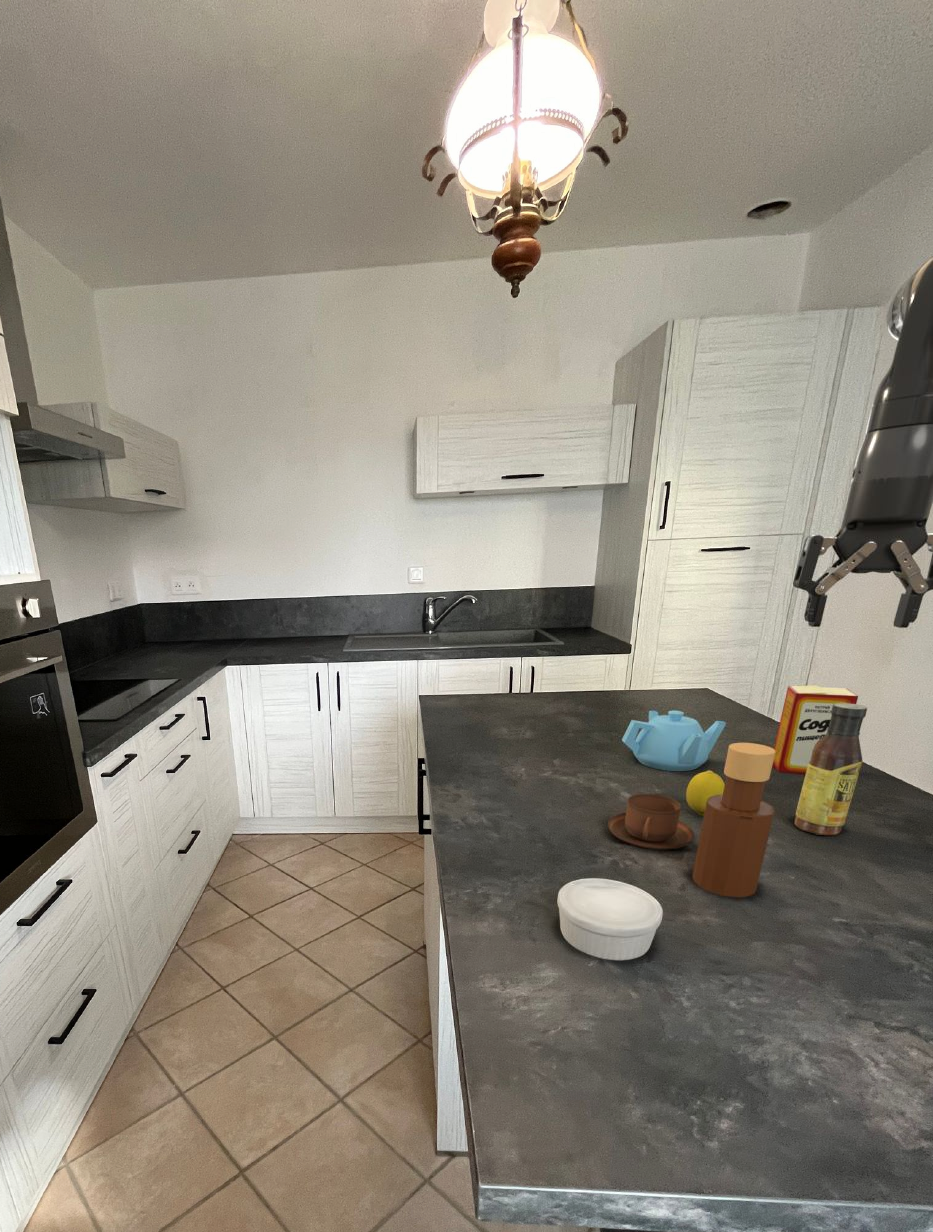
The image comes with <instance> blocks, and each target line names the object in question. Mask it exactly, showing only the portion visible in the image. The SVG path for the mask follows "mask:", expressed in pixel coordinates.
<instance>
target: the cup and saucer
mask: <svg viewBox="0 0 933 1232" xmlns="http://www.w3.org/2000/svg"><path fill="white" fill-rule="evenodd" d="M626 802H627V804H626V810H625V811H626V812H623V813H618V814H615V815H613V816H612V817H610V818H609V820H608V822H607V826H608V829H609V831H610V832H611V833H612V834H613V835H614V836H615V837H616V838H617V839H619V840H620V841H623V842H624V843H627V844H629V845H632V846H635V847H638V848H643V849H649V850H656V851H657V850H659V851H660V850H661V851H669V850H675V849H679V848H683V847H685V846H687V845H689V844H690V843H691V842H692V841H693V839H694V837H695V832H694V830H693V829H692V828H691V826H689V825H687V824H686V823H684V822H682V821H681V820H679V819H680V814H681V809H682V805H681V803H680V802H679V801H677V800H676V799H674V798H671V797H669V796H667V795H666V796H665V795H661V794H656V793H637V794H632V795H631V796H628V797H627V801H626Z"/></svg>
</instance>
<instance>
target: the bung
mask: <svg viewBox="0 0 933 1232" xmlns="http://www.w3.org/2000/svg"><path fill="white" fill-rule="evenodd" d="M774 756H775V750H774V747H770V746H768V745H765V744H760V743H753V742H735V743H730V744H729V745H728V750H727V755H726V759H725V763H724V770H723V774H724V775H725V777H726V776H728V777H730V778H733V779H737V780H741V781H747V782H764V781H765V782H767V781H769V780H770V777H771V773H772V769H773V766H774V765H773V760H774Z"/></svg>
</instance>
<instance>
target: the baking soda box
mask: <svg viewBox="0 0 933 1232" xmlns="http://www.w3.org/2000/svg"><path fill="white" fill-rule="evenodd" d="M858 700H859V695H858V694H857V693H855V692H853V691H852V690H850V689H849V688H847V687H845V688H844V687H827V686H825V687H824V686H819V685H787V689H786V694H785V698H784V703H783V707H782V712H781V716H780V721H779V725H778V730H777V733H776V738H775V741H774V742H775V743H774V747H773V749H774V750H775V756H774V760H773V765H772V766H774V768H775V769H776V771H777V772H779V773H789V774H792V773H793V774H804V775H806V771H807V767H808V764H809V761H810V760H811V756H812V751H813V748H814V746H815V744H816V743H817V742H818V741H819V740H820V739H822V738H823V737H824V736H825V735H826V734H827V729H828V727H829V724H830V720H831V716H832V714H831V711H832V706H833V705H834V704H836V703H849V704H858V703H857V702H858Z"/></svg>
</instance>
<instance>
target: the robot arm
mask: <svg viewBox="0 0 933 1232" xmlns="http://www.w3.org/2000/svg"><path fill="white" fill-rule="evenodd" d="M885 316H886V317H885V324H886V328H887V331H888V333H889V335H890V336H891V337H892V338H894V339H895V340H897V343H896V346H895V350H894V354H893V358H892V361H891V364H890V367H889V368H888V370H887V372H886V373H885V374H884V376H883V377H882V379H881V380H880V382H879V384H878V385H877V386H878V387H877V388H876V391H875V394H874V397H873V401H872V406H871V408H870V413H869V418H868V420H867V421H868V422H867V424H866V425H867V426H866V431H865V435H864V438H863V441H862V444H861V447H860V448H859V451H858V454H857V457H856V461H855V464H854V468H853V469H852V472H851V481H850V485H849V486H850V487H849V490H848V495H847V499H846V503H845V508H844V512H843V516H842V521H841V525H840V528H839V531H838V532H837V534H836V535H835V536H823V535H820V534H811V535H808V536H807V537H806V538H805V539H804V543H803V546H802V550H801V553H800V556H799V560H798V563H797V567H796V569H795V574H794V577H793V581H792V585H793V587H794V588H795V589H800V590H802V591H805V592H807V594H808V597H807V602H806V605H805V610H804V614H803V618H804V621H805V622H807V623H808V624H807V625H808V626H809V627H812V628H820V626H821V625H822V621H823V617H824V613H825V610H826V609H825V608H826V604H827V601H828V594H826V593H827V592H828V591H829V590H830V589H832V587H834V586H835V584H837V583H838V582H839V581H841V580H843V579H844V578H845V577H846V576H847V575H849V574H850V573H851V574H868V573H877V574H891V573H893V575H894V576H895V577H896V578H897V579H898V580H899V582H900V583H901V585H902V586H903V588H904V589H905V592H904V593H901V594H900V598H899V601H898V605H897V608H896V612H895V616H894V620H893V623H892V624H893V627H895V628H899V629H907V628H909V626H910V624H911V623H912V624H913V623H915V621H916V620H917V619H918V615H919V612H920V609H921V604H922V601H923V599H924V597H925V594H926V593H928V592H930V591H933V533H929V532H927V523H928V520H929V517H930V513H931V511H932V510H931V509H932V507H933V255H932V256H931V257H929V259H928V260H926V261H925V262H924V263H923V264H922V265H921V266H920V267H919V268H918V269H917V270H916V271H915V272H914V273H913V274H912V275H911V276H910V277H909V278H908V279H906V280H905V281H904V283H903V284H901V286H900V287H899V289H898V290H897V291H896V293H895V294H894V296H893V297H892V298H891V301H890V303H889V305H888V308H887V312H886V315H885ZM925 545H927V550H928V552H929V553H931V558H930V562H929V567H928V571H927V576H926V578H924V577H923V574H922V573H921V571H922V570H921V568H920V567H919V565H918V563H917V562H916V560H915V559H914V557H913V556H914V555H915V554H916V553H917V552H918V551H919V550H920V549H922V548H923V547H924V546H925ZM830 547H832V549H833V551H834V552H835V554H836V556H837V558H836V559H835V560H834V561H833V562H832V563H831V564H830V565H829V566H827V568H825V569H824V571H823V573H822V574H821V575H819V577H817V579H816V580H813V578H814V574H815V571H816V567H817V564H818V560H819V557H820V556H823V555H825V553H827V551H828V549H829V548H830Z"/></svg>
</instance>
